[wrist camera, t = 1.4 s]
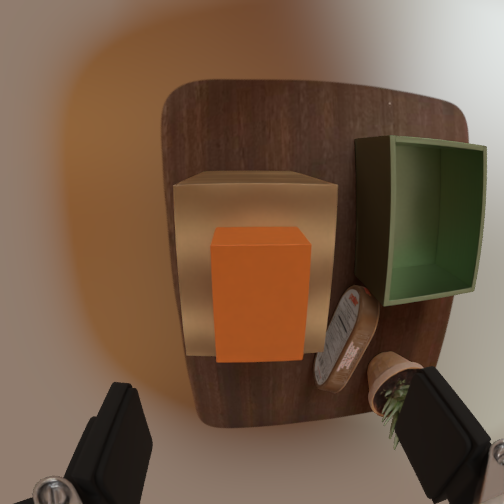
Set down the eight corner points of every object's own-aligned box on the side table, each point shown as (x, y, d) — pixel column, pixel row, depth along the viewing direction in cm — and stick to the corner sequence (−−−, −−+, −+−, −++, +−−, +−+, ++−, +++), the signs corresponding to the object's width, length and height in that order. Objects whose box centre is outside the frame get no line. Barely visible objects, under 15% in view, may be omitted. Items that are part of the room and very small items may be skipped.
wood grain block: (203, 171, 36) (172, 185, 18) (291, 170, 36) (338, 184, 19) (207, 270, 39) (186, 355, 22) (288, 269, 40) (323, 352, 22)
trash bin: (354, 274, 40) (383, 306, 31) (354, 138, 35) (389, 135, 26) (435, 265, 41) (474, 291, 31) (441, 144, 35) (486, 146, 26)
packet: (215, 227, 19) (210, 244, 15) (297, 226, 20) (312, 243, 16) (219, 328, 21) (216, 363, 18) (292, 326, 22) (302, 360, 18)
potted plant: (415, 337, 44) (502, 445, 20) (402, 383, 47) (466, 491, 23) (359, 344, 44) (432, 476, 20) (348, 391, 46) (400, 517, 23)
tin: (323, 368, 45) (337, 406, 36) (304, 365, 44) (316, 404, 36) (365, 278, 40) (392, 306, 32) (345, 272, 40) (369, 300, 32)
